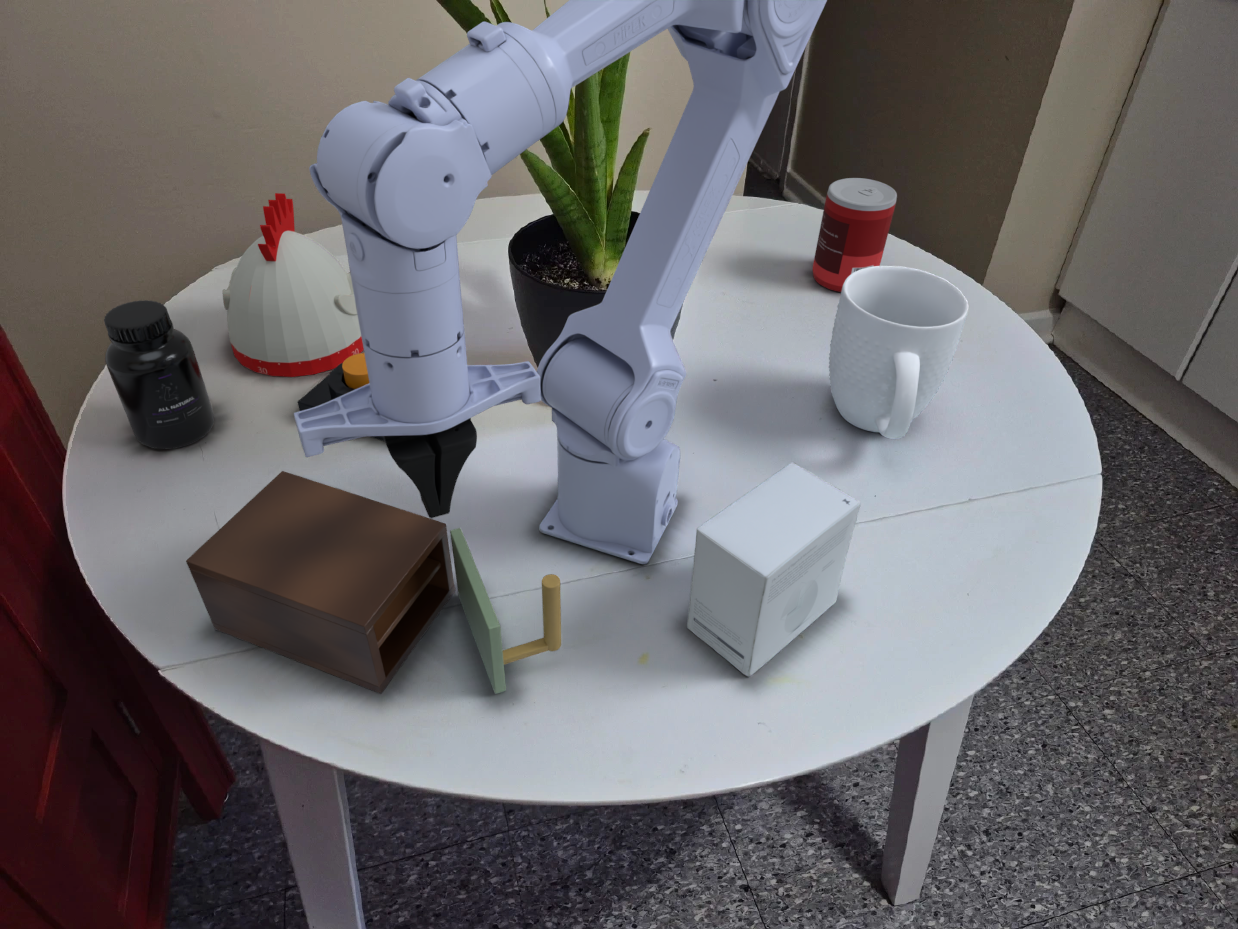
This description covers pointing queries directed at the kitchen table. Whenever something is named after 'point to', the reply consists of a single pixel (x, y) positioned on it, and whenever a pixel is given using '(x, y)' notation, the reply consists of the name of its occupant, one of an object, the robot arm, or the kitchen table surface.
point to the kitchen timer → (290, 302)
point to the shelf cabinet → (326, 578)
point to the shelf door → (486, 620)
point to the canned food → (852, 229)
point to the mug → (892, 345)
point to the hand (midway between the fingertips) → (435, 506)
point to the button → (355, 371)
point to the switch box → (327, 391)
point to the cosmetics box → (769, 566)
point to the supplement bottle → (156, 376)
